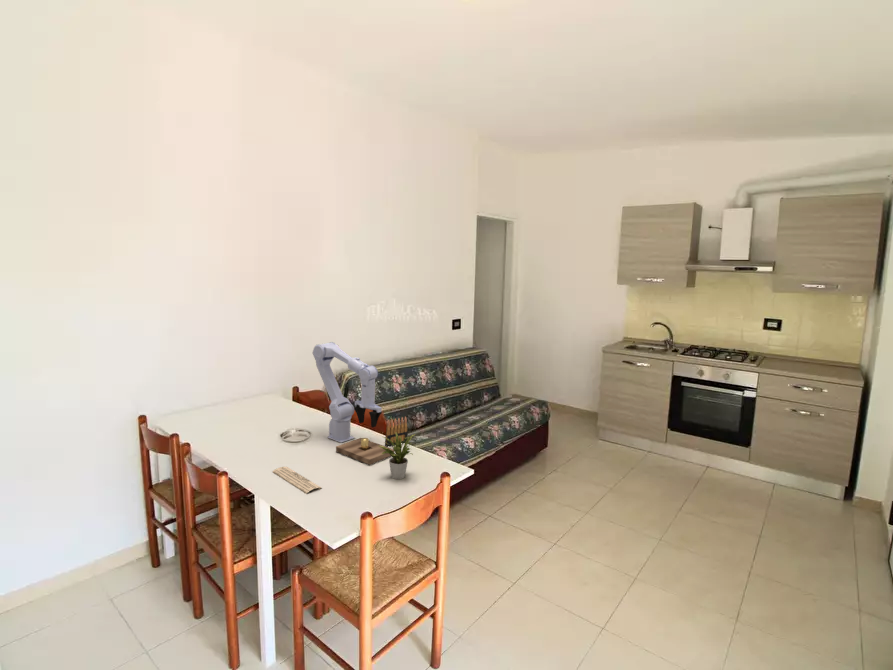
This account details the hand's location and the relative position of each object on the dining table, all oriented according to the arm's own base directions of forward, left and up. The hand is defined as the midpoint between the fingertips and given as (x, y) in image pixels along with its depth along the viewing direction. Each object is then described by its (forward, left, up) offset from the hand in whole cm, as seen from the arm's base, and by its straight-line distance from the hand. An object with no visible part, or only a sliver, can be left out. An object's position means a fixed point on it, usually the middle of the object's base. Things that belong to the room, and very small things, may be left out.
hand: (367, 424), depth 212 cm
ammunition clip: (+8, +10, -10) cm, 16 cm away
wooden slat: (+6, -40, -10) cm, 42 cm away
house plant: (+30, -12, -10) cm, 34 cm away
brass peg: (+6, -7, -9) cm, 13 cm away
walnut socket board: (+6, -7, -9) cm, 13 cm away
